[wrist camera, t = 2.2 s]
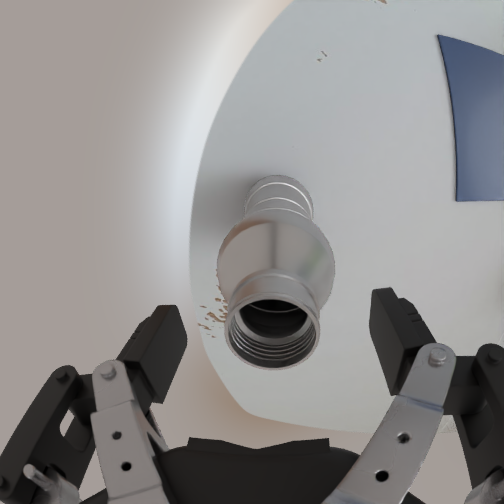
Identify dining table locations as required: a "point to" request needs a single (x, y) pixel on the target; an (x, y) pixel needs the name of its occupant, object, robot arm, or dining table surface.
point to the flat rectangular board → (476, 118)
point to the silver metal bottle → (275, 276)
